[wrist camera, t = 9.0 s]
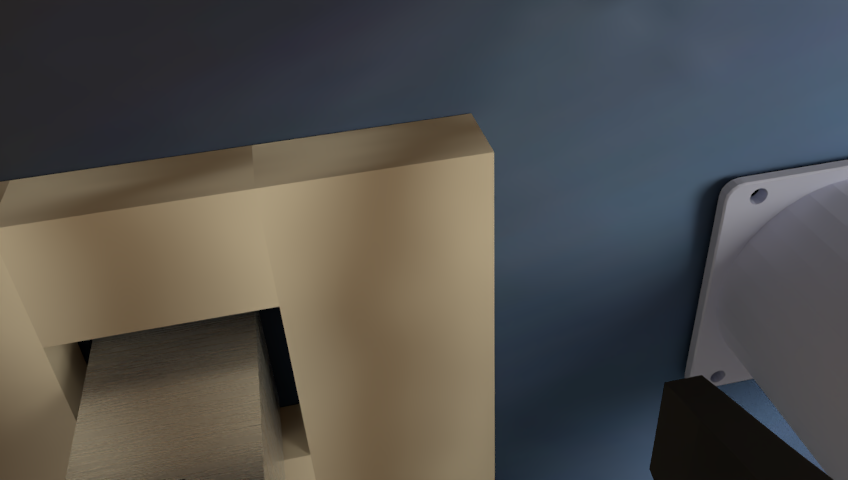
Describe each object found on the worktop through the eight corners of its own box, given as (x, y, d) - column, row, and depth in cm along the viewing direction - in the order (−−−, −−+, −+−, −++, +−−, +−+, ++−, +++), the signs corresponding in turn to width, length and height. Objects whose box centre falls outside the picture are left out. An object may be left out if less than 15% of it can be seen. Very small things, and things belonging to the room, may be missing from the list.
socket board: (471, 113, 19) (493, 152, 18) (477, 441, 26) (494, 490, 25) (-248, 217, 17) (-297, 273, 15) (-32, 545, 24) (-51, 606, 22)
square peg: (253, 288, 21) (266, 508, 15) (278, 394, 23) (297, 619, 18) (97, 315, 20) (50, 554, 15) (138, 421, 23) (112, 662, 17)
